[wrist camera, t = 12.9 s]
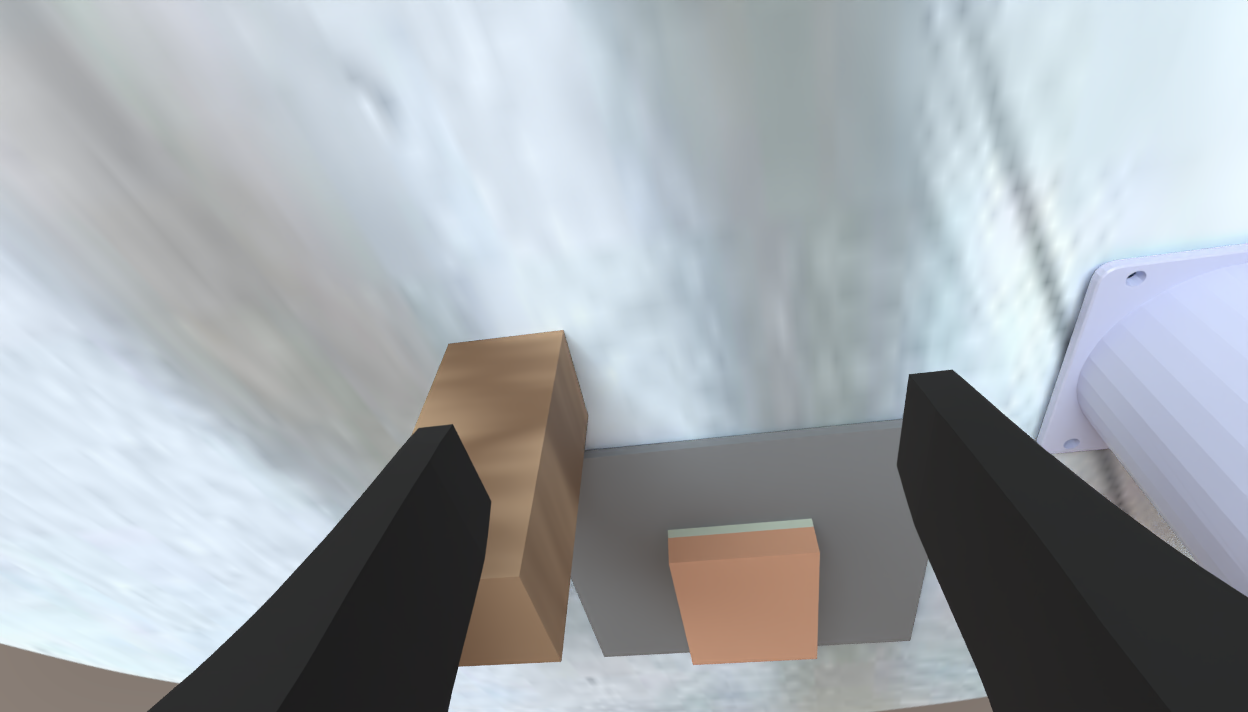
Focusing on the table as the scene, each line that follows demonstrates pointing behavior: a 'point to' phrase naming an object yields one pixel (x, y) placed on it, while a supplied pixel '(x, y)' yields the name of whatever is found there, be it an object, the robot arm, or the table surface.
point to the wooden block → (518, 485)
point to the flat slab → (747, 590)
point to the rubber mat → (741, 494)
